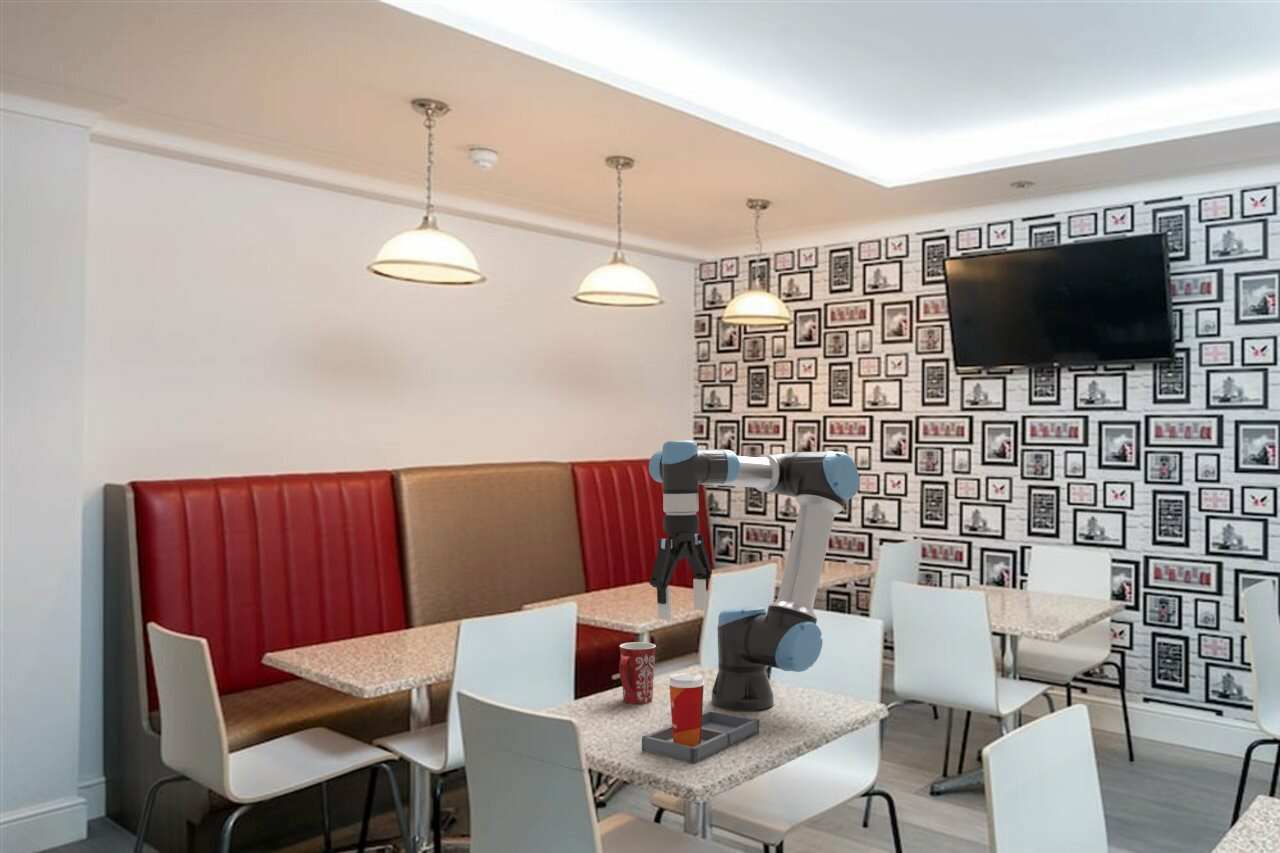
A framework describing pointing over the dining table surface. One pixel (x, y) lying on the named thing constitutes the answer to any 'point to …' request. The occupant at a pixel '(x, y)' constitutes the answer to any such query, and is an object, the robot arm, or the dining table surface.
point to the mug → (637, 671)
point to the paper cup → (686, 708)
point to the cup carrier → (703, 737)
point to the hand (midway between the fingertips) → (682, 614)
